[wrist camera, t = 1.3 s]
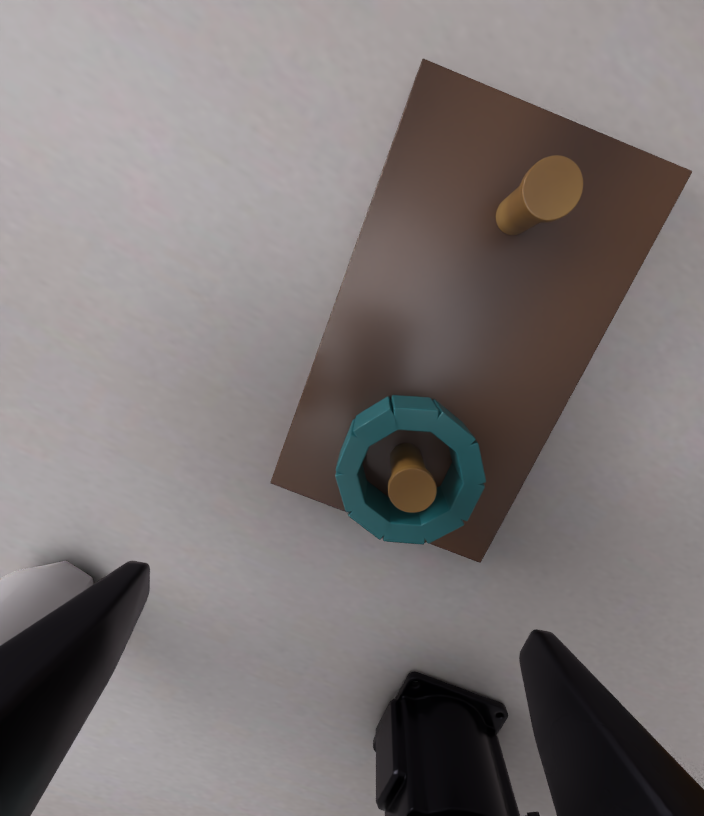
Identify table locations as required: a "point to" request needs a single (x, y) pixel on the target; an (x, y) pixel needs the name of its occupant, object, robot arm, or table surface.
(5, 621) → the salt shaker
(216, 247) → the table surface
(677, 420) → the table surface
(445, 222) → the peg rack
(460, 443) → the ring
